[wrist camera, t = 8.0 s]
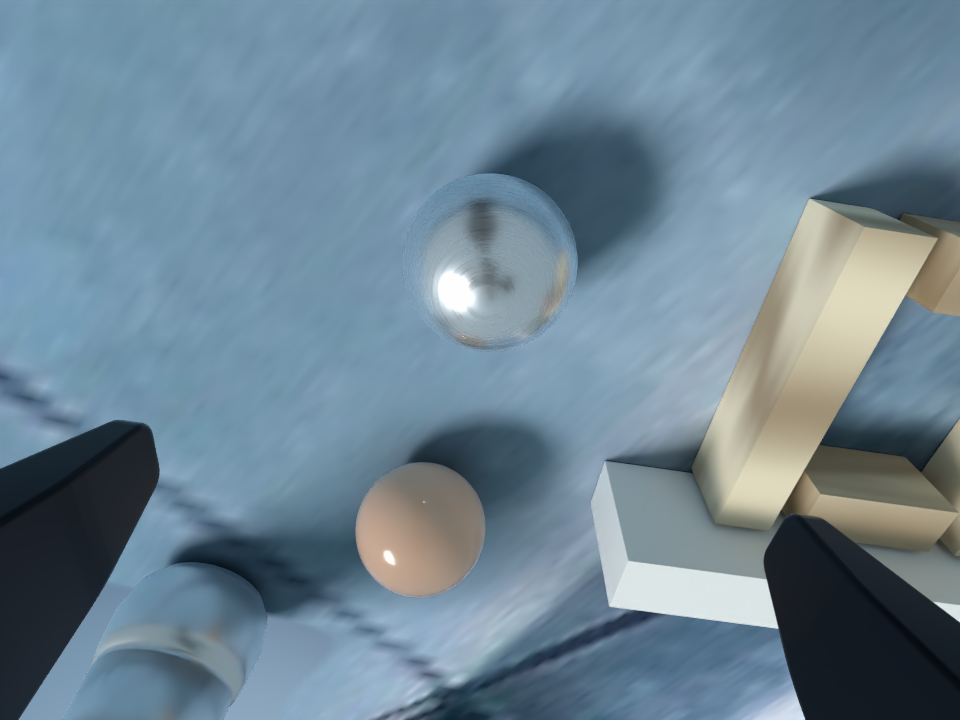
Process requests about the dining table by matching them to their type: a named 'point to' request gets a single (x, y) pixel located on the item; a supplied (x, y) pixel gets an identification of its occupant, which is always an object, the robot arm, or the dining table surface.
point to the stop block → (713, 552)
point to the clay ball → (420, 529)
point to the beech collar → (834, 385)
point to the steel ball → (490, 262)
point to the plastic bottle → (175, 648)
